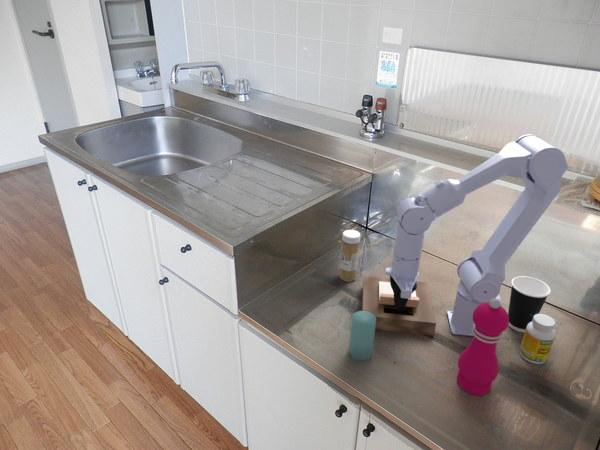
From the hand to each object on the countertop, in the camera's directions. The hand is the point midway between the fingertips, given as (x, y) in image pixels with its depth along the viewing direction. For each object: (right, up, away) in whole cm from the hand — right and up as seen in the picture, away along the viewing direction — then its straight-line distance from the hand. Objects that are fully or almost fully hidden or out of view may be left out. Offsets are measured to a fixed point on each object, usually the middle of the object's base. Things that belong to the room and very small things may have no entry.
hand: (399, 306), depth 101 cm
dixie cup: (+28, -5, +3) cm, 29 cm away
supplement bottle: (+27, -10, -6) cm, 29 cm away
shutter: (+1, +1, +6) cm, 6 cm away
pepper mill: (+11, -13, -13) cm, 22 cm away
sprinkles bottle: (-10, +4, +19) cm, 22 cm away
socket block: (+1, -2, +7) cm, 7 cm away
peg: (-10, -9, -6) cm, 14 cm away
